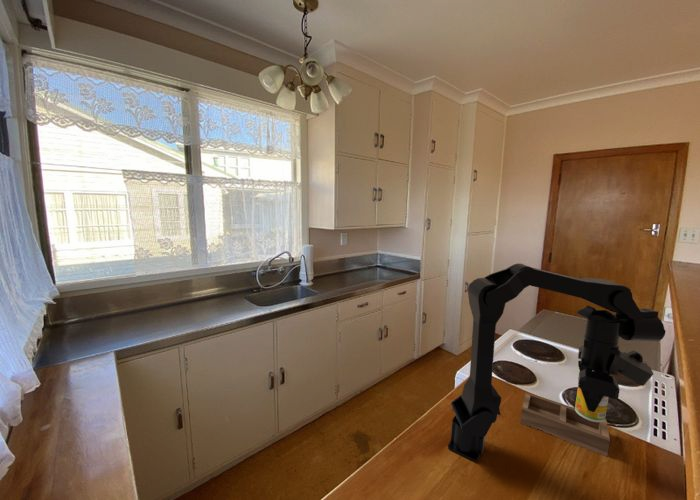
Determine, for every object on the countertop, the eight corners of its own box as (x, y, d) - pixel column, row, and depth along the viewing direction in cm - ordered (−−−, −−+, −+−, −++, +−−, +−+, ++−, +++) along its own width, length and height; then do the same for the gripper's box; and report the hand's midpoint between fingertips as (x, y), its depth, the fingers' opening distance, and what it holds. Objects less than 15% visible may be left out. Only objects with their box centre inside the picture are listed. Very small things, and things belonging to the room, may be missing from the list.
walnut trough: (607, 456, 70) (609, 440, 69) (520, 422, 80) (521, 409, 79) (603, 432, 77) (606, 418, 77) (524, 404, 87) (526, 391, 87)
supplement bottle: (573, 404, 72) (579, 365, 71) (602, 412, 69) (609, 372, 68) (575, 417, 68) (581, 376, 66) (606, 426, 65) (614, 384, 63)
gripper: (663, 368, 54) (647, 447, 56) (644, 334, 69) (633, 398, 71) (583, 349, 60) (573, 421, 63) (582, 322, 75) (574, 380, 77)
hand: (590, 404), depth 68 cm, fingers closed on supplement bottle, 5 cm apart
